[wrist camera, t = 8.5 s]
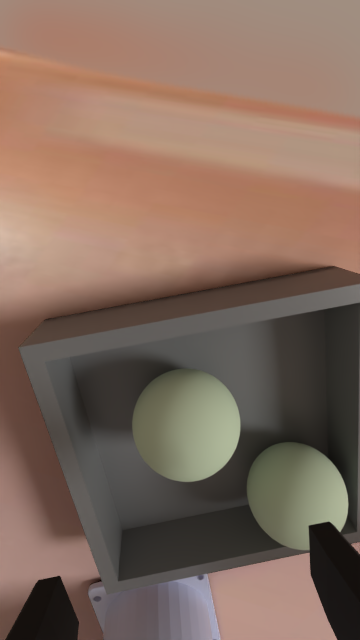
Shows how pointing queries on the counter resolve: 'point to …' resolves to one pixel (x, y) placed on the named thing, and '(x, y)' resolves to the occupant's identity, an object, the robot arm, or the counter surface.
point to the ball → (295, 493)
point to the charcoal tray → (247, 390)
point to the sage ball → (186, 425)
